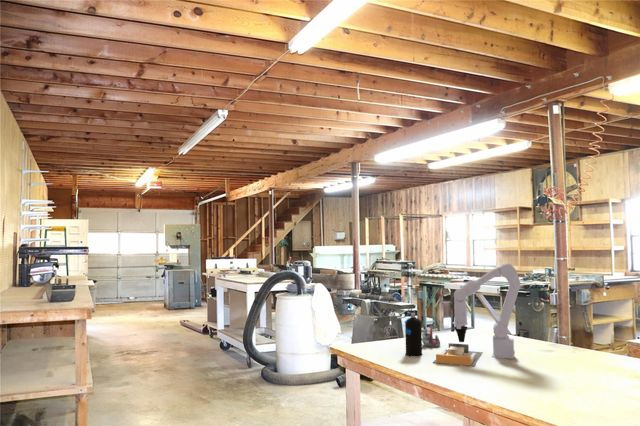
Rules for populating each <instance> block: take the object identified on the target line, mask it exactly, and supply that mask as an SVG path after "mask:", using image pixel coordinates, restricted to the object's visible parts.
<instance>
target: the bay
mask: <svg viewBox="0 0 640 426" xmlns="http://www.w3.org/2000/svg"><path fill="white" fill-rule="evenodd" d="M447 349H448V348H447ZM447 349H445V350H442V352H441V353H436V354H435V360H433V362H432V364H438V363H439V364H441V365H449V364H452V365H451V366H460V365H463V367H471V366H472V367H473V368H474V367H476V365H477V363H478V361H479V359H480V358H481V357H482V354H483V353H484V352H483V351H472V350H469V355H468V356H458V355H446V354H447V353H448V350H447Z"/></svg>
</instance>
